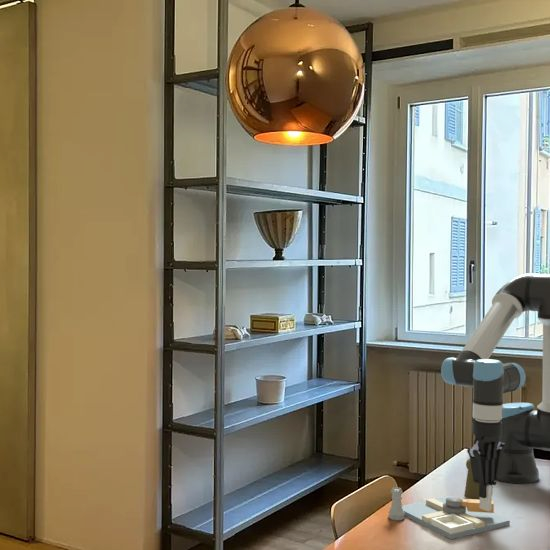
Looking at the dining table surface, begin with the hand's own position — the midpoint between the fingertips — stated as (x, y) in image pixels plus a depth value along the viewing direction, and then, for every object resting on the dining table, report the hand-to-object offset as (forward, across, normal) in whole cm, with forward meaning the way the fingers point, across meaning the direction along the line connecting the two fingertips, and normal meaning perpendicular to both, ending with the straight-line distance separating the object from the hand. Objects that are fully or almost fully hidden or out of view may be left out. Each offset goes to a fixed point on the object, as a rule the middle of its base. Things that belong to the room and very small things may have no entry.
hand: (485, 509), depth 189 cm
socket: (+3, +10, -2) cm, 11 cm away
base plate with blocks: (+4, +3, -9) cm, 10 cm away
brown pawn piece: (+4, -16, -16) cm, 23 cm away
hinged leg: (+1, +1, -5) cm, 5 cm away
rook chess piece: (+5, +15, -17) cm, 23 cm away
